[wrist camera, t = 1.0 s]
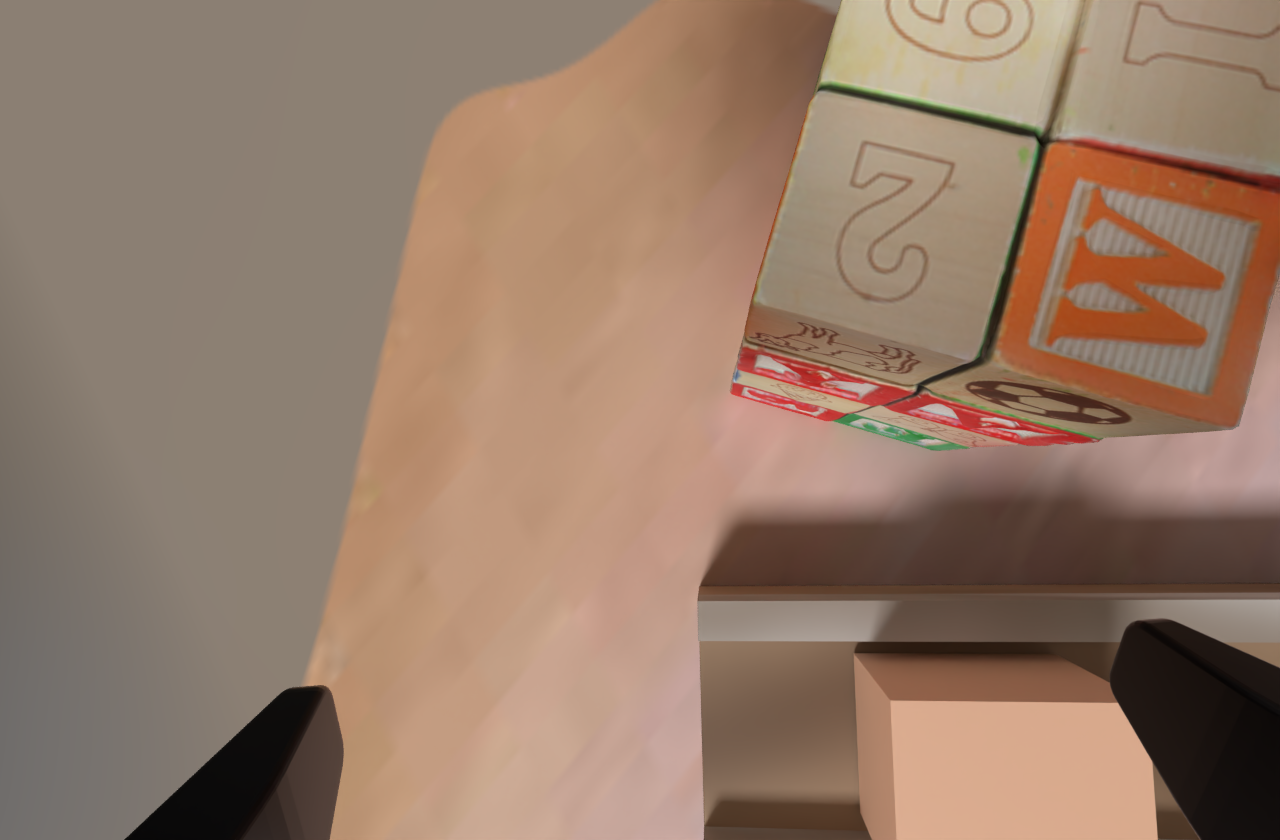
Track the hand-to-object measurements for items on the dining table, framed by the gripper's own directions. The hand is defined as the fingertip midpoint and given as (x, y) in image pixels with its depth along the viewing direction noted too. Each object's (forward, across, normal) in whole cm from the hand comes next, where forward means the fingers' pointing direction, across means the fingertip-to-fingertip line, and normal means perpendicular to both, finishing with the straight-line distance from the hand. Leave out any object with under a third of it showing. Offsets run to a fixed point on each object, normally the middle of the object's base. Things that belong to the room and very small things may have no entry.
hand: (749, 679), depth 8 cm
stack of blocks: (+17, -9, -6) cm, 20 cm away
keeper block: (+7, -8, +9) cm, 14 cm away
